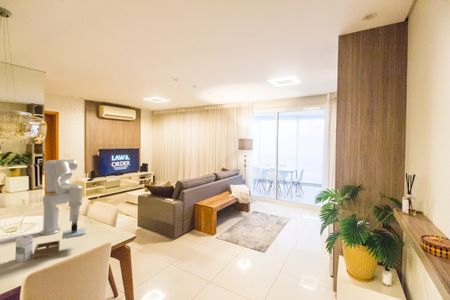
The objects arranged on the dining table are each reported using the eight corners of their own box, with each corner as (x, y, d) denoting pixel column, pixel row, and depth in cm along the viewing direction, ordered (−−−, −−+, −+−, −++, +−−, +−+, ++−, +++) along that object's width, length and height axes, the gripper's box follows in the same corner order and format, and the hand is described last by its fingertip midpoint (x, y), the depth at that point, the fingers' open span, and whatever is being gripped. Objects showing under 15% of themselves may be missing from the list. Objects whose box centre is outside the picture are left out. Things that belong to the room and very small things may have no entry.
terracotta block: (48, 251, 141) (49, 245, 141) (56, 250, 143) (56, 244, 143) (48, 254, 138) (48, 248, 137) (56, 252, 140) (56, 247, 140)
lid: (63, 234, 147) (63, 219, 147) (84, 230, 155) (85, 217, 154) (62, 240, 139) (62, 224, 139) (85, 236, 146) (85, 221, 146)
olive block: (37, 254, 137) (37, 248, 137) (45, 252, 140) (45, 246, 140) (38, 256, 134) (38, 250, 134) (46, 254, 137) (46, 248, 137)
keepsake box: (36, 253, 139) (36, 244, 139) (59, 248, 146) (59, 240, 146) (33, 260, 131) (34, 250, 131) (58, 255, 138) (58, 246, 138)
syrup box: (32, 257, 134) (33, 235, 134) (24, 262, 128) (25, 239, 128) (23, 257, 134) (24, 234, 134) (14, 262, 128) (15, 238, 128)
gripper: (69, 201, 151) (68, 226, 151) (68, 207, 138) (66, 235, 138) (81, 200, 155) (80, 225, 155) (81, 205, 142) (80, 232, 142)
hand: (74, 229), depth 147 cm, fingers closed on lid, 3 cm apart
